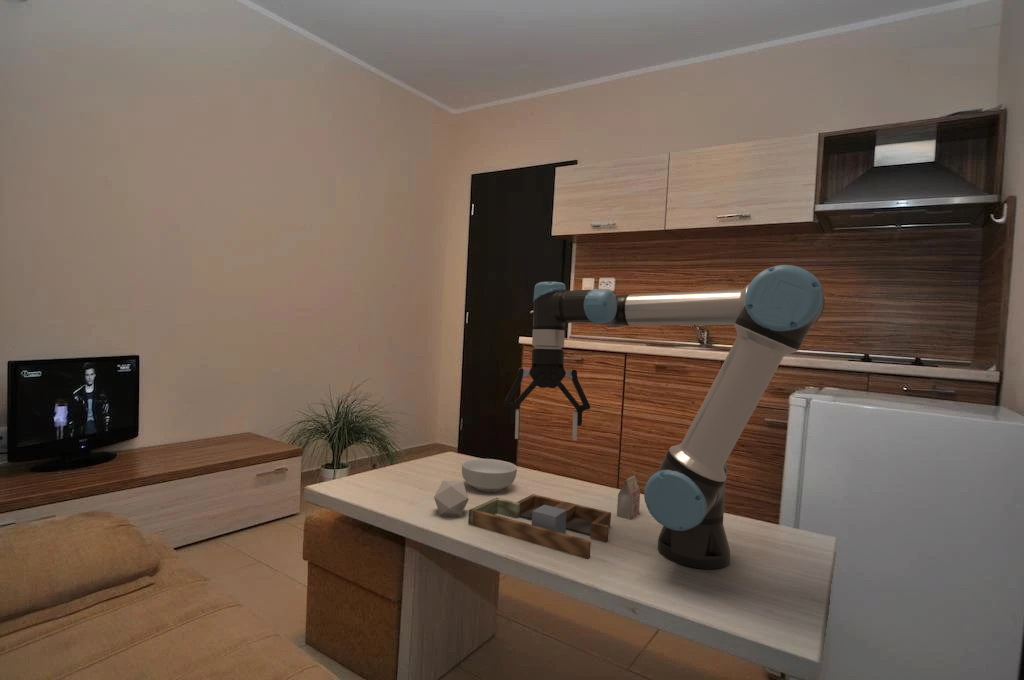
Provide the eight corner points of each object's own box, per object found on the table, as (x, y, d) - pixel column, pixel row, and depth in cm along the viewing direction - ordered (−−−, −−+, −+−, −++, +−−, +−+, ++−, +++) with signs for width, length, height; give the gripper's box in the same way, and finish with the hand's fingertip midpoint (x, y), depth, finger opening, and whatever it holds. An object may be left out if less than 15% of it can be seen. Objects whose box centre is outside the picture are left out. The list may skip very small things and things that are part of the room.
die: (452, 525, 123) (476, 490, 126) (423, 503, 125) (447, 469, 128) (455, 525, 131) (477, 492, 134) (427, 505, 133) (450, 473, 136)
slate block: (565, 535, 120) (566, 510, 120) (554, 543, 115) (555, 516, 115) (542, 529, 123) (544, 504, 123) (530, 536, 118) (532, 511, 118)
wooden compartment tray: (621, 528, 125) (621, 514, 125) (587, 559, 107) (588, 542, 107) (513, 502, 141) (514, 489, 141) (468, 524, 123) (468, 509, 123)
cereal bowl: (495, 500, 142) (497, 475, 142) (449, 488, 151) (450, 465, 151) (525, 487, 157) (527, 464, 157) (481, 477, 165) (483, 455, 165)
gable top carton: (616, 516, 135) (618, 478, 135) (626, 510, 140) (628, 474, 140) (630, 519, 133) (632, 481, 133) (639, 513, 138) (641, 476, 138)
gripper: (598, 349, 123) (596, 437, 122) (495, 346, 123) (493, 434, 122) (603, 349, 115) (601, 443, 115) (494, 346, 115) (491, 439, 115)
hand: (545, 438), depth 119 cm, fingers open, 13 cm apart
